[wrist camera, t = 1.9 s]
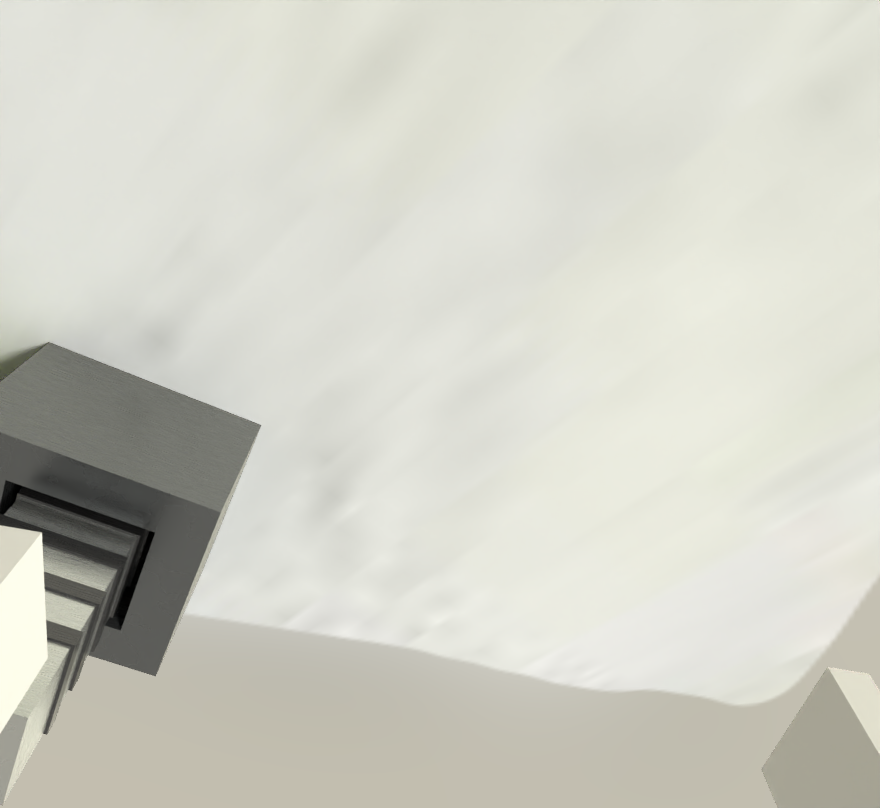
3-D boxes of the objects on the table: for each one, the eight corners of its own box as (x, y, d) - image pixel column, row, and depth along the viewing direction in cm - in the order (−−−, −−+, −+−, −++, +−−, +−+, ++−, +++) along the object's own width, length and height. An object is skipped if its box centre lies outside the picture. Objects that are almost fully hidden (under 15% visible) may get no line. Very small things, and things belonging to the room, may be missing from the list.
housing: (11, 506, 48) (-112, 643, 38) (49, 342, 43) (-83, 448, 32) (201, 572, 51) (136, 718, 40) (261, 425, 45) (203, 549, 34)
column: (72, 487, 47) (-153, 766, 30) (93, 409, 45) (-140, 666, 27) (167, 520, 48) (5, 808, 31) (193, 447, 46) (32, 716, 28)
